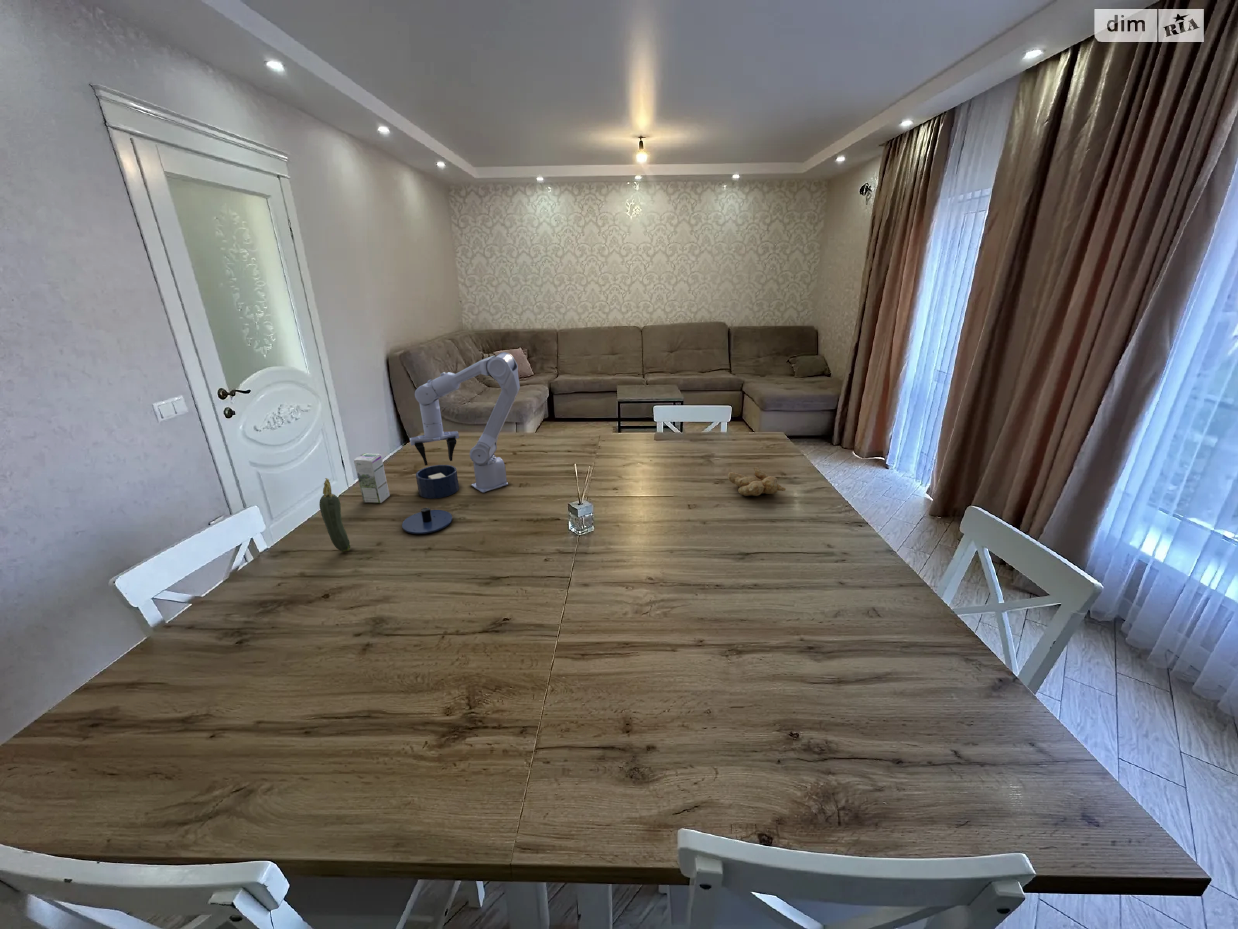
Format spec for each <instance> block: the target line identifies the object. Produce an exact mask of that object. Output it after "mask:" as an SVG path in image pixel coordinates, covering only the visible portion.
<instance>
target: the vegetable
mask: <svg viewBox="0 0 1238 929" xmlns="http://www.w3.org/2000/svg"><path fill="white" fill-rule="evenodd" d="M324 479H325V481H324V482H323V488H322V494H323V495H322V496H321V497H320V499H319V510H320V515H321V518H322V519H323V523H324V526H325V527H326V531H327V533H328V536H329V538H330V540H331V543H332V544H333V546H334V547H335V548H336V549H337V550H338V551H340V552H343V553H345V552H347V551H350V549H351V542H350V538H349V537H348V536H349V535H348V534H347V531H346V529H345V526H344V524H343V519H342V509H341V508H342V506H341V500H340V499H339V497H338V496H337V495H336V494H335V493H332V485H331V482H330V479H329V478H327V477H325V478H324Z"/></svg>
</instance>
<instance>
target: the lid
mask: <svg viewBox="0 0 1238 929" xmlns="http://www.w3.org/2000/svg"><path fill="white" fill-rule="evenodd" d="M452 521H453V515H452V514H451V513H450V512H449V511H446V510H444V509H443V510H442V509H431V507H423V508H421V509H420V511H419V512H416V513H414V514H411V515H410V516H407V517H406V518H405V519H404V520H403V521H402V524H401V528H402V530H403V531H404V532H406V533H408V534H414V535H424V534H431V533H436V532H438V531H440V530H443V529H444V528H446V527H448V526H449V525H450V524H452Z"/></svg>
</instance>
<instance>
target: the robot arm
mask: <svg viewBox="0 0 1238 929" xmlns="http://www.w3.org/2000/svg"><path fill="white" fill-rule="evenodd" d="M439 375H440V376H438V377H436V378H434V379H431V378H430V379H429V380H427V382H426V383H424V384H422V385H420V386H418V387H417V388H416V389H415V390H414V398H415V401H417V402H418V404H419V410H420V415H421V422H422V428H423V434H422V435H418V436H413V437H409V442H410V445H411V446H414V448H415V449H416V450H417V452H418V453H419V454H420V456H421V458H422V460H423V463H424V465H425V466H428V458H427V456H426V448H425V446H424V444H425V443H433V442H438V441H446V446H447V454H448V460H449V462H453V456H454V451H455V447H456V445H457V439H460V434H459V431H458V430H455V431H454V430H453V431H444V427H443V426H444V425H443V420H442V412H441V407H440V401H439V400H440V399H441V398H443V397H445V396H447V395H449V394H451V393H454V392H455V391H458V390H459V389H460V386H461V384H462V383H464V382H466V381H468V380H471V379H473V378H475V377H477V376H479V375H483V376H486V377H488V376H491V378H493V380H494V381H496V382H497V383H498V385H499V388H500V389H501V391H500V393H499V395H498V398H497V400H496V402H495V405H494V407H493V409H492V410H491V413H490V416H489V418H488V420H487V422H486V425H485V427H484V429H483V432H482V434H481V435H480V436H479V439H478V440H477V442H476V444H475V445H474V446H473V447H471V449H470V450H469V458H470V460H471V461H472V462H473V471H474V479H475V482H474V483H471V484H470V486H471V487H472V488H474V489H475V490H477V491H479V492H481V493H487V492H490V491H493V490H496V489H499V488H502V487H505V486H508V485H509V483H508V481H507V470H506V464H505V462H504V459H502V457H500V456H496V455H495V453H496V451H497V449H498V446H497V444H498V441H499V437H500V433H501V431H502V429H503V427H504V424H505V422H506V420H507V418H508V417H509V416H508V415H509V414H510V411H511V409H512V407H513V405H514V403H515V402H516V398H517V396H518V394H519V392H520V389H521V385H520V384H521V383H520V378H519V366H518V362H517V361H516V360H515V358H514V356H513V355H512V354H511V353H509V352H505V351H503V352H500V353H498V354H497V355H492V356H489V357H485V358H482V359H480V360H479V361H476V362H475V363H473V364H471V365H469V366H467V367H465V368H464V369H462V370H459V371H458V372H456V373H454V372H451V371H448V372H446V371H443V372H441V373H440V374H439Z"/></svg>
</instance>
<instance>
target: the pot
mask: <svg viewBox="0 0 1238 929" xmlns="http://www.w3.org/2000/svg"><path fill="white" fill-rule="evenodd" d="M438 473H442V474H443V475H445V477H442V478H436V479H429V478H428V476H430V475H434V474H438ZM415 480H416V484H417V489H418V490H417V492H418V494H419V496H420V497H422V498H425V499H441V498H446V497H449V496H451V495H454V494H456V493H457V492H458V491H459V489H460V485H459V478H458V470H457V467H456V466H454V465H450V464H435V465H429V466H426V467H423V468H421V469H419V470H418V471H417V472H416V473H415Z"/></svg>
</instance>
